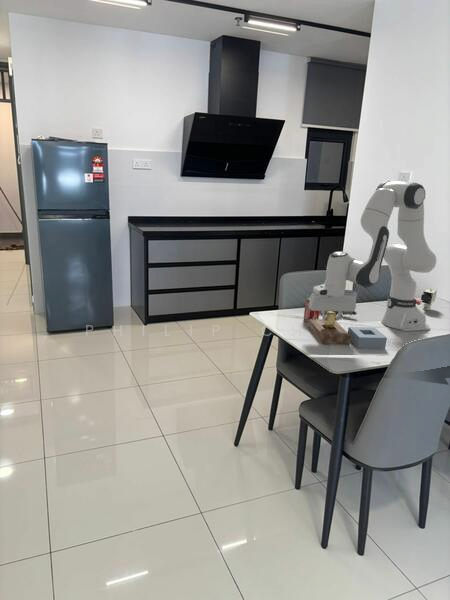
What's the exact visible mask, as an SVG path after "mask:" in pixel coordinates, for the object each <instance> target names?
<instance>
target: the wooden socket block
mask: <svg viewBox="0 0 450 600" xmlns="http://www.w3.org/2000/svg"><path fill="white" fill-rule="evenodd" d="M325 321H326V320H322V319H321V318H320V319H309V323H308V324H307V325H308V327H307V328H308V329H309V331H311V333H312V334H313V335H314V337H315V338H316V339H317V341H318V342H320V344H321V345H331V346H332V345H335V346H337V345H339V346H340V345H341V346H345V345H346V346H348V345H349V346H350V343H351V341H350V338H351V336H350V335H349V334H348V331H347V330H345V328H344V327H343V326H342V325H340V323H338V322H337V321H335V325H334V329H325Z"/></svg>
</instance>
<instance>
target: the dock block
mask: <svg viewBox="0 0 450 600" xmlns="http://www.w3.org/2000/svg"><path fill="white" fill-rule="evenodd" d="M347 333H348V334H349V335H350V336H351V338H350V343H352V344H353V346H354V347H355V348H356V349H359V350H361V349H362V350H365V349H366V350H386V347H387V340H388V337H387V336H386V335H384V334H383V333H382V332H381V331H380V330H379V329H377V328H376V327H370V326H369V327H363V326H359V327H358V326H348V328H347Z"/></svg>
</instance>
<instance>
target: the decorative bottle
mask: <svg viewBox="0 0 450 600" xmlns="http://www.w3.org/2000/svg"><path fill="white" fill-rule="evenodd" d="M327 312H328V311H325V313H324V314H327ZM332 312H335V313H336V315H337V314H338V311H332ZM319 313H321V311H320V312H319ZM357 313H358V312H357V311H355V310H354V311H342V314H341V316H347V315H349V316H353V315H354V316H356V315H357Z"/></svg>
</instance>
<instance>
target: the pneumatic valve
mask: <svg viewBox="0 0 450 600" xmlns="http://www.w3.org/2000/svg"><path fill="white" fill-rule="evenodd" d="M437 292H438V291H437V289H432V288H426V289H424V290H423V293H422V294H421V297H420V301H421V303H423V307H422V310H424V311H431V307H432V304H433V303H435V301H436V296H437Z"/></svg>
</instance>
